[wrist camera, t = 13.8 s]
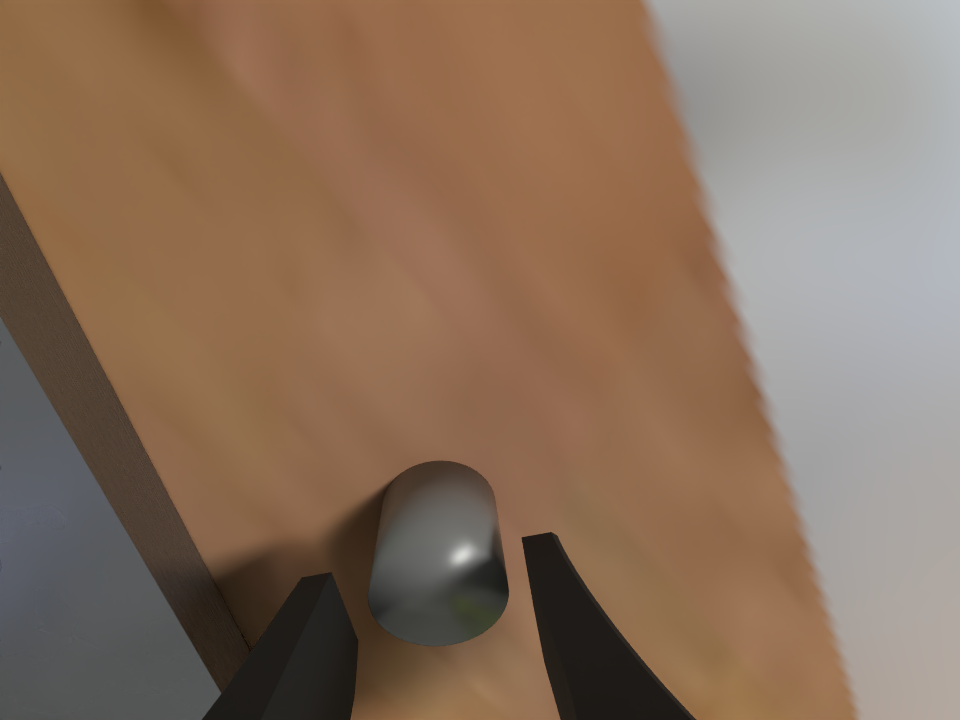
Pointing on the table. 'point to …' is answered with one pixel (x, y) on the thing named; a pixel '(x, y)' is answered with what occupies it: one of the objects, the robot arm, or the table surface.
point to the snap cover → (438, 556)
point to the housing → (89, 531)
